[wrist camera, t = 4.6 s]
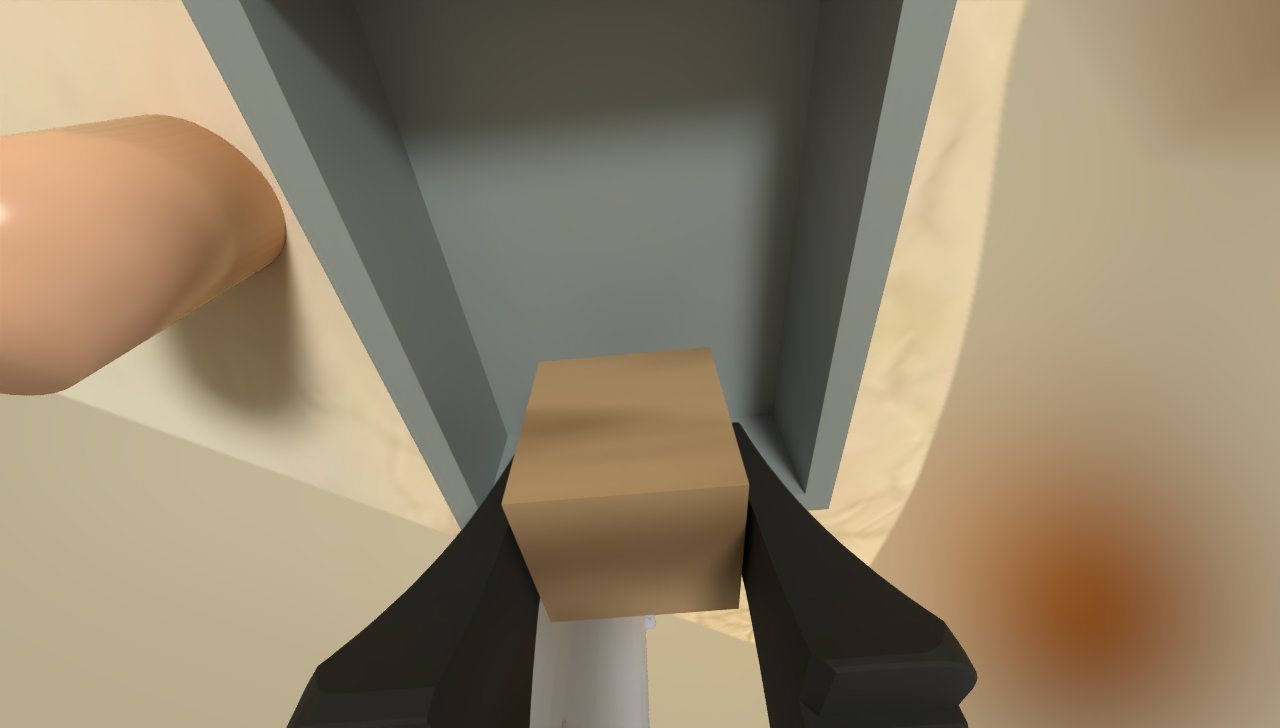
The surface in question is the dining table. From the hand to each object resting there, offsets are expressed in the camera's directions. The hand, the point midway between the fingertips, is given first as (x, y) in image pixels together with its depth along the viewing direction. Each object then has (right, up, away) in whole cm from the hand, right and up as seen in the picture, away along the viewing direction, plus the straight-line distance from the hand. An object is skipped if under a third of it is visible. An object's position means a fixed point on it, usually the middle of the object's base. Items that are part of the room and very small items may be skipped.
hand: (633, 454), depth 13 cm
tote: (-1, +7, +3) cm, 7 cm away
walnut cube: (0, +1, +1) cm, 2 cm away
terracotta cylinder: (-14, +8, +1) cm, 16 cm away
